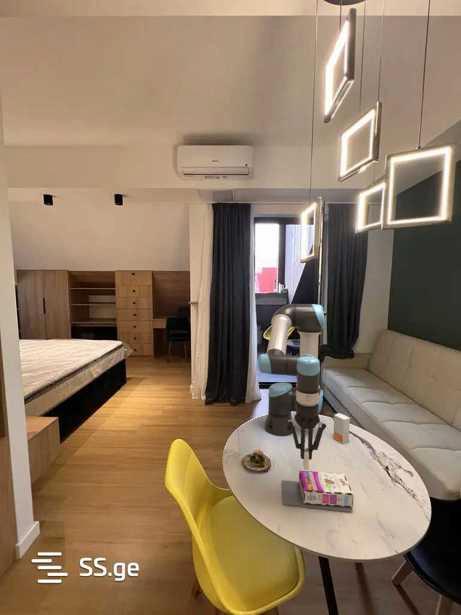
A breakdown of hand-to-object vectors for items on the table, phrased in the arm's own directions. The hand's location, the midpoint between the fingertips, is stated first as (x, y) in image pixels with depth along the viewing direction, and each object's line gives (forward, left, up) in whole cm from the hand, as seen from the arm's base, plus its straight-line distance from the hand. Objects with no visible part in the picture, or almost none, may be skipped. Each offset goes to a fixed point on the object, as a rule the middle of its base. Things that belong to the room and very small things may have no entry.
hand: (305, 467), depth 103 cm
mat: (0, +3, -10) cm, 11 cm away
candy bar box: (0, -2, -7) cm, 8 cm away
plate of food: (-15, -18, -11) cm, 26 cm away
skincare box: (-40, +21, -11) cm, 46 cm away
